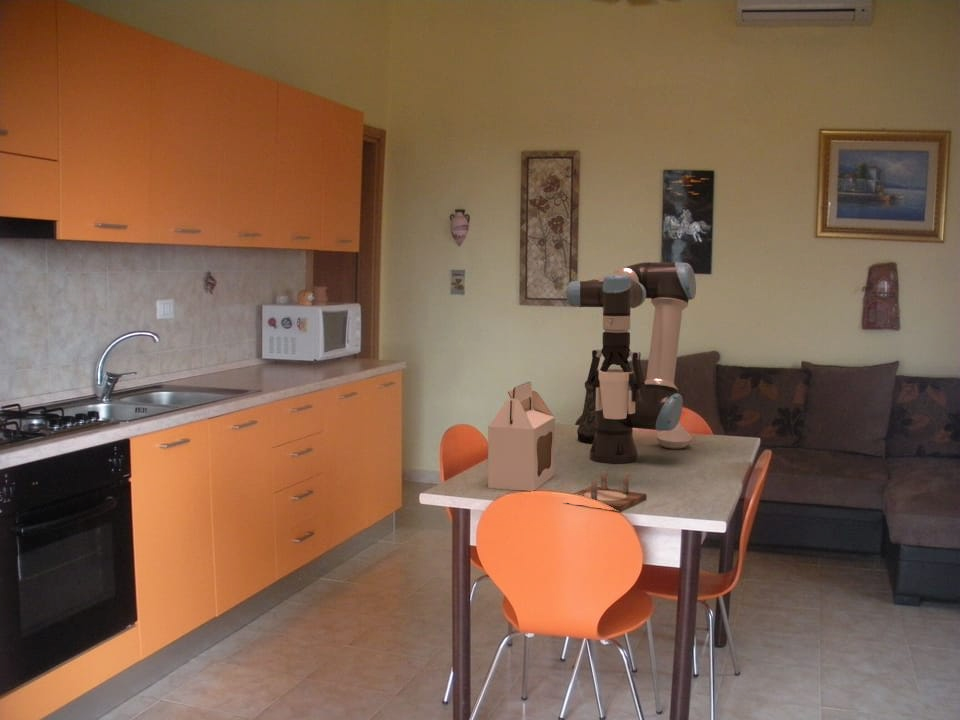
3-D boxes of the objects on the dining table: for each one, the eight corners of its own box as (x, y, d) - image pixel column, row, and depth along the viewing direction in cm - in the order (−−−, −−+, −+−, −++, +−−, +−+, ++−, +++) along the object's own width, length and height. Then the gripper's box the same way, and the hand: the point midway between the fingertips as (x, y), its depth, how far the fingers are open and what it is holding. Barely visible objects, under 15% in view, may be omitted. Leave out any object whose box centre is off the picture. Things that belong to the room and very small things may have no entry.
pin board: (592, 491, 257) (592, 467, 257) (646, 499, 248) (646, 475, 248) (563, 503, 244) (563, 478, 244) (619, 512, 235) (619, 486, 235)
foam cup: (628, 414, 267) (629, 368, 265) (635, 420, 257) (636, 372, 256) (595, 414, 266) (596, 369, 265) (600, 420, 257) (601, 372, 256)
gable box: (511, 472, 282) (512, 379, 279) (554, 475, 277) (555, 381, 275) (487, 488, 261) (487, 388, 258) (533, 492, 256) (534, 390, 254)
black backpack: (575, 436, 341) (576, 367, 339) (629, 436, 341) (630, 368, 338) (578, 444, 325) (579, 372, 323) (635, 445, 324) (636, 373, 322)
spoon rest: (692, 451, 314) (692, 430, 314) (656, 450, 316) (656, 429, 316) (689, 439, 338) (689, 419, 337) (656, 438, 340) (656, 418, 339)
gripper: (574, 330, 263) (573, 410, 265) (647, 333, 250) (646, 417, 252) (587, 328, 269) (586, 406, 271) (659, 331, 256) (657, 413, 259)
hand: (615, 411), depth 262 cm, fingers closed on foam cup, 9 cm apart
